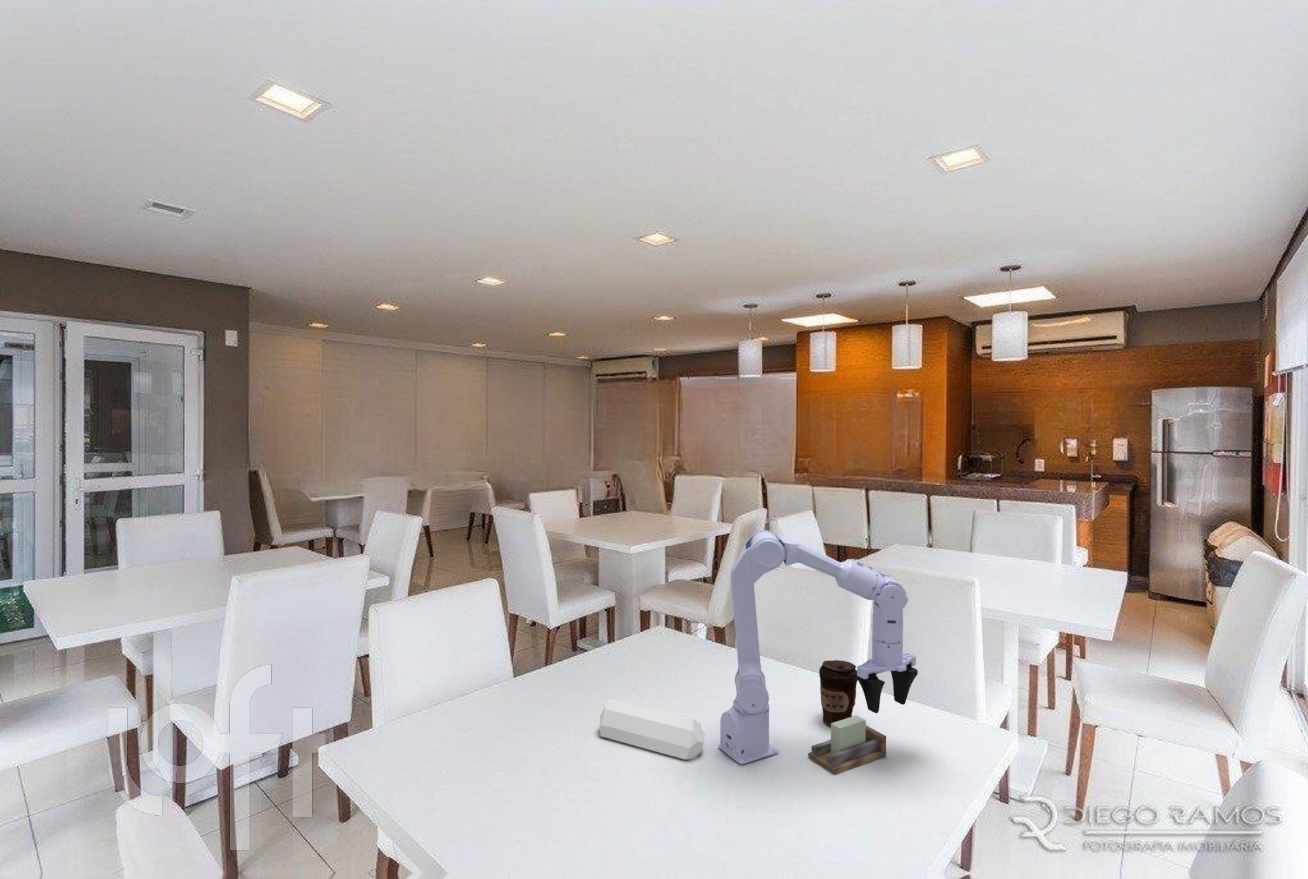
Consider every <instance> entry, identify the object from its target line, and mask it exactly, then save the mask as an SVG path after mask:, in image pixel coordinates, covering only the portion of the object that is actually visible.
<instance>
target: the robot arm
mask: <svg viewBox="0 0 1308 879" xmlns="http://www.w3.org/2000/svg"><path fill="white" fill-rule="evenodd" d="M779 538H780V539H779ZM744 542H745V543H744V544H743V547H742V549H741V551H740V553H739V555H738V556H737V559H736V560H735V562H734V564H733V565H732V568H731V570H730V581H731V582H730V583H731V593H732V594H731V596H732V605H733V606H732V609H733V620H734V627H735V628H734V629H735V639H736V640H735V641H736V642H735V644H736V652H737V653H736V654H737V671H736V673H735V676H734V684H735V690H736V692H735V693H736V696H735V699H733V701H732V702H733V703H732V706H731V707H730V708H729V709H728V710H726V711H723V713H721V716H720V724H719V725H720V726H719V727H720V735H719V736H720V738H719V739H720V742H719V744H718V745H717V748H719V749H720V750H721V751H722V752H723V753H725V754H726V755H728V756H729V757H730V758H731V759H733V761H736V763H738V764H739V765H745V764H749V763H752V762H755V761H757V760H760V759H763V758H767V757H770V756H773V755H776V754H778V753H779V750H778V749H777V748H776V747H775V746H772V745H771V744H770V704H769V701H770V696H769V692H768V689H767V685H766V676H765V674H764V672H763V671H762V664H761V653H760V641H759V631H758V630H759V629H758V618H757V605H756V595H755V594H756V592H755V583H756V582H757V581H758V580H759V579H760V578H762V576H763V575H764V574H767V573H769V572H771V571H773V570H776V569H777V568H778V567H780V566H781V565H782V564H783V563H784V565H785V566H786V567H787V566H791V565H795V564H801V565H803V566H806V567H809V568H811V569H814V570H816V571H818V572H821V573H823V574H825V575H828V576H830V577H832V578H834V580H835V582H836V584H837V586H838V587H839V588H841V589H843V590H845V591H848V592H850V593H852V594H855V595H856V596H858V597H861V598H863V599H865V600H867V601H872V624H871V625H872V627H871V628H872V630H871V633H872V637H871V640H872V641H871V657H870V658H869V659H868V660H866V661H865V662H864V663H862V664H860V665H857V666H856V670H857V672H856V678H857V680H858V681H857V682H858V683H859V685H860V687H861V690H862V692H863V694H864V695H863V696H864V699H865V702H866V707H867V710H868V711H870V712H872V713H875V714H879V710H880V707H881V706H880V705H881V695H882V691H883V687H884V685H885V684H886V682H885V681H884V680H882V679H879V676H878V674H882V673H885V672H890V674H891V678H892V686H893V687H892V688H893V691H892V692H893V699H894V702H897V703H898V704H899V705H902V706H903V705H906V701H907V699H908V697H909V696H908V694H909V692H910V689H911V686H912V685H913V682H914V680H915V679H916V677H917V676H918V675H919V674H918V669H917V668H915V667H914V666H916V665H917V656H916V655H914V654H912V653H909V652H908V653H907V652H906V653H904V649H903V648H904V645H903V644H904V608H906V606H907V604H908V602H909V597H908V596H907V593H906V590H905V588H904V586H902V585H901V584H900V583H899V582H898V581H897V580H895V579H894V578H893V577H891V576H890V575H888V574H886V573H885V572H883V571H879V572H877V571H875V570H873V569H871V568H868V567H866V566H864V562H862V561H860V560H859V559H855V561H853V560H852V559H847V560H844V561H841V562H840V561H837V560H836V559H834V558H832V557H830V556H828V555H826V554H824V553H822V552H820V551H818V550H816V549H814V548H811V547H810V546H807V545H806V544H804V543H802V542H800V541H797V540H795V539H793V538H791V537H788V536H785V535H783V534H782V535H781V534H778V536H777V534H776V533H775V532H773V531H772V530H767V529H763V530H759V531H756V532H755V533H754V534H753V535H751V536H750V537H749V538H748V539H747V540H745V541H744Z"/></svg>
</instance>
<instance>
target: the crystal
mask: <svg viewBox="0 0 1308 879" xmlns="http://www.w3.org/2000/svg"><path fill="white" fill-rule="evenodd" d="M599 733H600V737H603V738H606V739H610V740H613V741H617V742H620V743H623V744H624V743H625V744H627V745H632V746H635V747H639V748H643V749H646V750H650V751H653V752H657V753H661V754H664V755H668V756H671V757H674V758H675V757H676V758H679V759H681V760H692V759H695V758H696V757H698V756H699V755H700V754H701V753H702V750H703V747H704V742H705V732H704V729H703V727H702V724H701V722H698V721H697V720H696V719H694V718H690V717H686V716H683V715H678V714H672V713H669V712H665V711H660V710H657V709H653V708H648V707H644V706H640V705H636V704H632V703H628V702H624V701H619V700H615V699H612V698H610V699H609V700H608V701H607V702H606V704H605V706H604V708H603V710H602V712H601V714H600V716H599Z"/></svg>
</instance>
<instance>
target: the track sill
mask: <svg viewBox="0 0 1308 879" xmlns="http://www.w3.org/2000/svg"><path fill="white" fill-rule="evenodd" d="M807 755H808V756H807V758H808V759H809V760H811V761H812V762H814V763H815V764H817V765H818V766H820V767H822V768H823V769H825V770H826V771H828V772H829V773H830V774H832V775H833V776H835V775H837V774H839V773H843V772H845V771H850V770H852V769H854V768H857V767H860V766H862V765H865V764H867V763H870V762H873V761H876V760H878V759H882V758H884V757H886V756H887V735H885V734H883V733H881V732H879V731H878V730H876V729H873V728H872V727H870V726H868V725H866V740H865V743H862V744H859V745H857V746H854V747H851V748H848V749H845V750H842V751H839V752H836V753H833V754H831V739H829V740H825V741H823V742H819V743H816V744H813V745H811V751H810V752H809V751H808V752H807Z"/></svg>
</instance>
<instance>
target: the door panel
mask: <svg viewBox="0 0 1308 879" xmlns="http://www.w3.org/2000/svg"><path fill="white" fill-rule="evenodd" d="M866 721H867V720H866V719H864V718H862V717H860V716H858V715H852V717H850V718H847V719H843V720H840V721H837V722H834V723H831V726H830V740H831V754H833V753H836V752H839V751H842V750H845V749H848V748H851V747H854V746H857V745H859V744H862V743H865V740H866V726H867V725H866V724H867V722H866Z"/></svg>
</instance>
